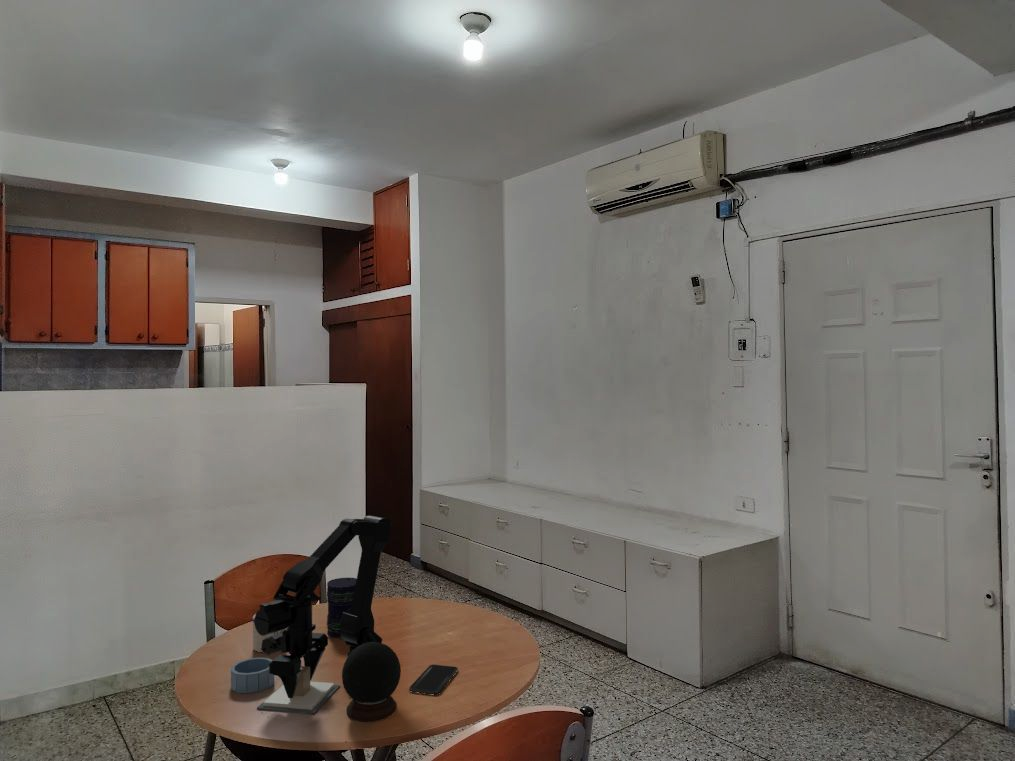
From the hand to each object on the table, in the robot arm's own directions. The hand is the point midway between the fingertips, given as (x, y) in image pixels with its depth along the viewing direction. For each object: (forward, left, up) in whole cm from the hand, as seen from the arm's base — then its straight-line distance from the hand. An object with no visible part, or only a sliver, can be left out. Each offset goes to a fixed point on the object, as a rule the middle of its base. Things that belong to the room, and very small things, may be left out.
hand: (299, 689), depth 162 cm
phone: (-29, -14, -3) cm, 32 cm away
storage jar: (+7, -42, -2) cm, 43 cm away
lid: (0, 0, -2) cm, 2 cm away
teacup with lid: (+23, -29, -2) cm, 37 cm away
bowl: (+15, -5, -2) cm, 16 cm away
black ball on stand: (-19, +3, -2) cm, 19 cm away
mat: (0, 0, -2) cm, 2 cm away
